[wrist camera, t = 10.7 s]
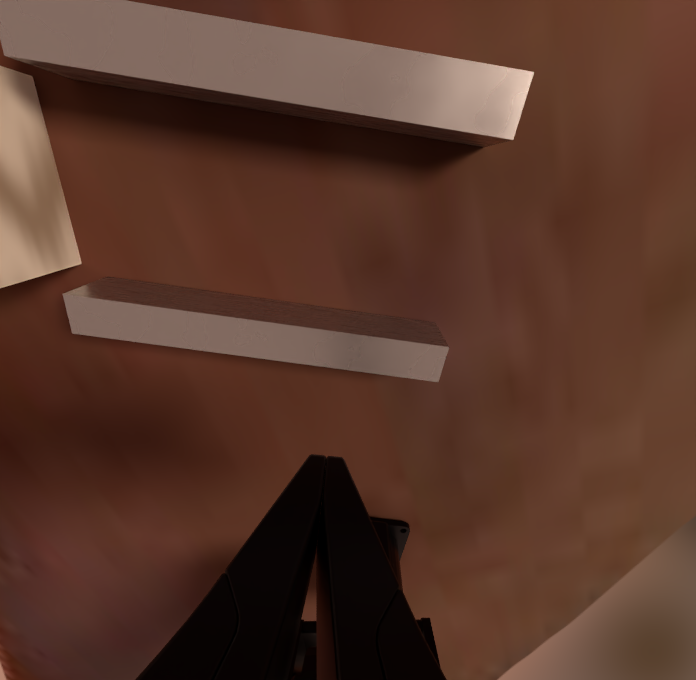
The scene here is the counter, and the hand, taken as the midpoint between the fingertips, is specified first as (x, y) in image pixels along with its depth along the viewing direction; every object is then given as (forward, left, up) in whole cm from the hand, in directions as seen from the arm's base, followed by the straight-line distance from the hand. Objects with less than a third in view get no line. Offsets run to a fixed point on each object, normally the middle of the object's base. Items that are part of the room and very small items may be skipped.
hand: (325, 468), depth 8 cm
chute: (+4, +4, -11) cm, 13 cm away
